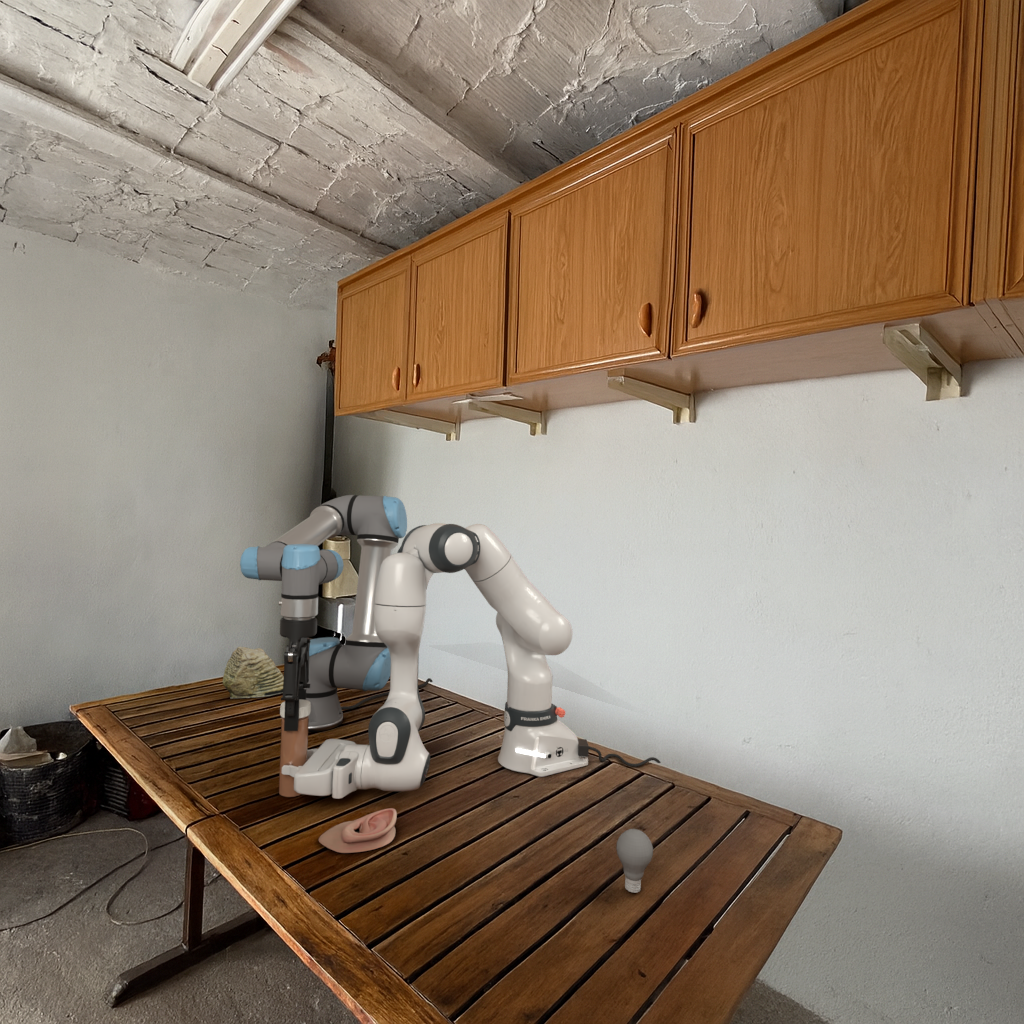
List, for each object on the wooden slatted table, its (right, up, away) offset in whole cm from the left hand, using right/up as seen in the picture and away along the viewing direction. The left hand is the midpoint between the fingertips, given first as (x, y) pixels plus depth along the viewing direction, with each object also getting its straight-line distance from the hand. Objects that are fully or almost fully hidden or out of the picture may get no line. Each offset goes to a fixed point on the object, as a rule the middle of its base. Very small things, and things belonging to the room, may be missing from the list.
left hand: (294, 724), depth 136 cm
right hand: (-1, -8, 0) cm, 8 cm away
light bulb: (+67, -18, -30) cm, 75 cm away
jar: (-1, -14, 0) cm, 14 cm away
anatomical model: (+18, -16, -17) cm, 29 cm away
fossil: (-34, -12, +63) cm, 72 cm away
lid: (0, +4, 0) cm, 4 cm away
